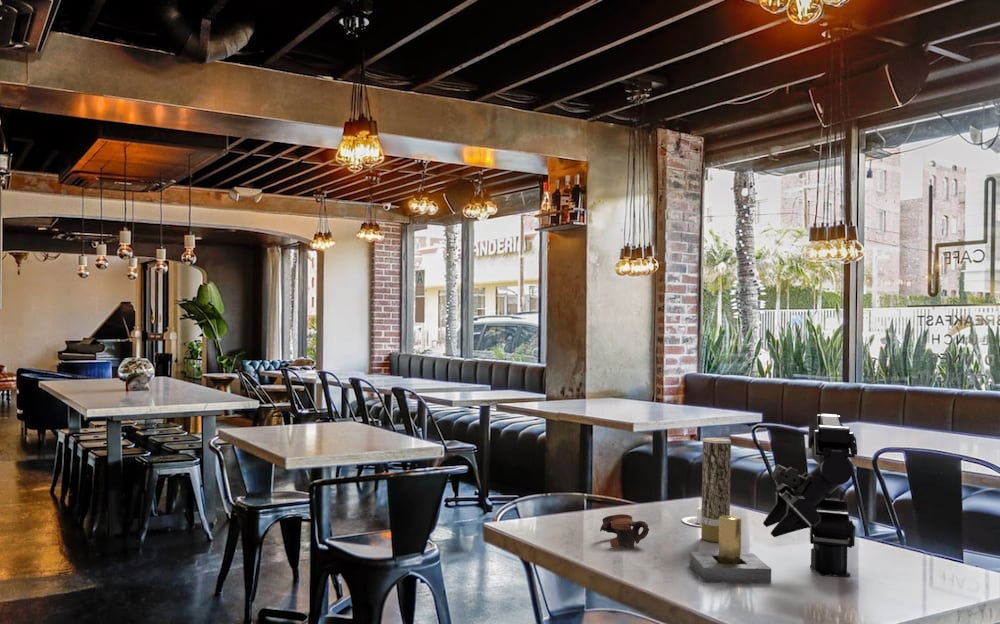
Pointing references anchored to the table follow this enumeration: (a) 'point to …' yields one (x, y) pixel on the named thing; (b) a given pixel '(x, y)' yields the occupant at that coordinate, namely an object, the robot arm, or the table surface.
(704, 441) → the bark covered log
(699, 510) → the candle holder
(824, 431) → the robot arm
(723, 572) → the jig plate
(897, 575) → the table surface
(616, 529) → the pottery mug
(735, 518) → the brass cylinder
